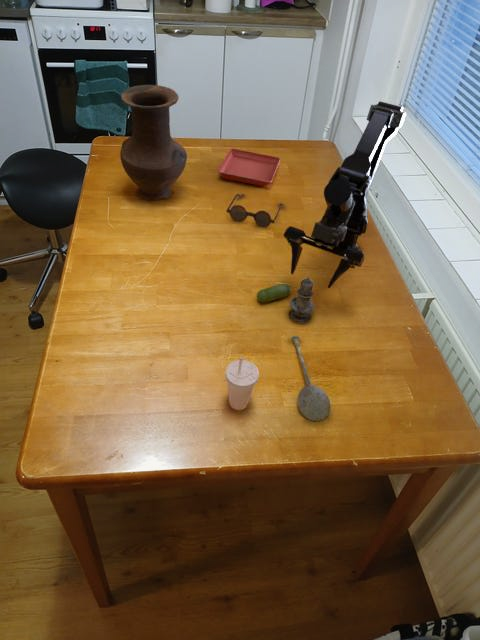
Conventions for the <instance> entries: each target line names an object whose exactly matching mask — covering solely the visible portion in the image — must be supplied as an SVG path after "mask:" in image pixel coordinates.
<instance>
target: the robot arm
mask: <svg viewBox="0 0 480 640" xmlns="http://www.w3.org/2000/svg"><path fill="white" fill-rule="evenodd" d="M403 110H404V107H403V106H400V105H397V104H393V103H388V102H384V101H381V100H379V101H378V103H377V104H370V107H369V110H368V114H367V117H366V121H368V122H367V125H366V127H365V129H364V130H363V133H362V135H361V136H360V139H359V141H358V143H357V145H356V147H355V149H354V151H353V153H351V154H350V155H348V156H346V157H345V158H344V160H343V161H342V163H341V165H340V166H338V167H337V168H336V170H334V173H332V175H331V177H330V178H329V180H328V183H327V184H326V185H325V186H324V190H323V198H324V200H325V205H326V208H325V211H324V213H323V215H322V217H321V219H320V221H316V222H315V223H314V226H313V228H312V231H311V234H310V236H309V235H307V234H306V232H305V231H304V229H300V228H297V227H294V226H292V225H289V226H288V227H287V228H286V229H285V231H284V233H283V236H282V237H284V239H285V240H286V241H287V244H288V245H289V246H290V247H291V264H290V265H291V266H290V274H291V275H294V273H295V271H296V270H297V266H298V263H299V261H300V258H301V255H302V252H303V246H302V245H304V244H305V245H308V246H310V247H313V248H315V249H318V250H321V251H324V252H328V253H330V254H333V255H335V256H338V257H341V259H340V261H339V263H338V265H337V267H336V270H335V271H334V273H333V274H332V277H331V278H330V280H329V282H328V285H327V289H331V287H332V286H333V285H334V284H335V283H336V282H337V281H338V280H339V279H340V278H341V277H342V276H343V275H344V274H345V273H346V272H347V271H349V270H350V269H353V270H354V269H355V267H357V268H362V266H363V263H364V261H365V253H364V251H363V250H361V249H360V246H359V245H358V244H357V242H358V239H359V236H360V237H361V236H362V234H366V232H367V230H368V224H369V222H368V220H369V219H368V215H367V212H368V203H367V197H368V193H369V190H370V189H371V185H372V182H373V180H374V177H375V174H376V172H377V169H378V167H379V163H380V161H381V158H382V155H383V153H384V150H385V147H386V145H387V143H388V142H389V141H391V139H393V138H394V137H395V136H396V135H397V133H398V130H399V129H400V128H402V126H403V124H404V122H405V118H406V116H407V113H406V112H403Z"/></svg>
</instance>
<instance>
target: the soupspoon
mask: <svg viewBox="0 0 480 640" xmlns="http://www.w3.org/2000/svg"><path fill="white" fill-rule="evenodd" d="M299 340H300V336H299V335H292V336H291V341H292V342H293V343H294V345H295V348H296V351H297V355H298V359H299V361H300V365H301V369H302V371H303V375H304V379H305V384H306V385H305V386H303V387H302V388H301V390H300V391H299V393H298V395H297V402H298V403H297V404H298V409H299V411H300V413H301V415H303V416H304V417H305V418H306V419H307V420H309V421H311V422H315V423H316V422H322V421H324V420H326V419H327V418H328V417H329V415H330V412H331V401H330V398H329V396H328V395H327V393H326V392H325V390H323V389H322V388H320V387H319V386H316V385H313V384H312V382H311V378H310V375H309V372H308V369H307V366H306V363H305V360H304V357H303V354H302V351H301V348H300V347H301V346H300V342H299Z"/></svg>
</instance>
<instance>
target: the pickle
mask: <svg viewBox="0 0 480 640" xmlns="http://www.w3.org/2000/svg"><path fill="white" fill-rule="evenodd" d="M291 290H292V288H291V286H290V285H289V283H281V284H277V285H273V286H268V287H266V288H263V289H260V290H259V291H258V292H257V293H256V298H257V301H259V303H268V302H270V301H274V300H277V299H281V298H284V297H287V296H289V295H290V294H291Z"/></svg>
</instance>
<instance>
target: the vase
mask: <svg viewBox="0 0 480 640" xmlns="http://www.w3.org/2000/svg"><path fill="white" fill-rule="evenodd" d="M120 98H121V101H122V103H123V104H124V105H126V106H129V107H130V109H131V121H132V135H130V136H129V137H127V138H126V139H125V140H123V142H122V144H121V148H120V152H119V157H120V162H121V166H122V168H123V170H124V172H125V173H126V174H127V176H128V177H129V178H130V180H131V181H132V182H133V183H134V184H135V185H136V186H137V187H138V188H139V189H138V195H139V196H140V197H141V198H142V199H144V200H146V201H151V202H153V201H158V200H162V199H167V198H169V197H170V196H171V194H172V191H171V189H170V188H171V186H173V185H174V184H175V182H176V181H177V180H178V179H179V178H180V177H181V175H182V174H183V173H184V170H185V167H186V165H187V161H188V153H187V150H186V149H185V147H184V146H183V145H182V144H181V143H179V142H177V141H176V140H174V139H173V138H172V135H171V125H170V122H171V121H170V119H171V117H170V115H171V114H170V107H172V106H174V105H176V104H177V103H178V101H179V94H178V92H176V91H175V90H174V89H172V88H170V87H167V86H164V85H159V84H141V85H134V86H130V87H128V88H126V89H124V90H123V91H122V93H121V95H120Z"/></svg>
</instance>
